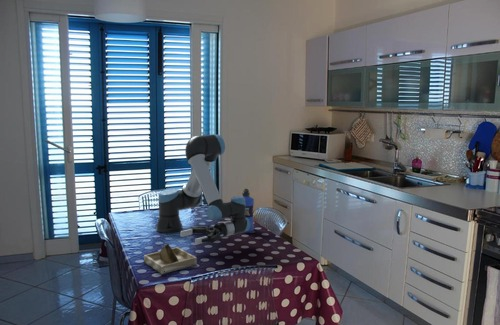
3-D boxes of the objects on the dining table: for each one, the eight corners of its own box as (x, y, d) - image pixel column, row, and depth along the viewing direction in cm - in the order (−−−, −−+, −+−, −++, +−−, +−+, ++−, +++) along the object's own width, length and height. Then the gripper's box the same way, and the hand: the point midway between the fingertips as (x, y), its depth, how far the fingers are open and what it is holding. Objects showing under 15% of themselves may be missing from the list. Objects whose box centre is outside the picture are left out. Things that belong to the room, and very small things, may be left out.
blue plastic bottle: (252, 233, 244) (252, 191, 240) (236, 232, 246) (236, 190, 242) (255, 228, 253) (255, 187, 249) (239, 227, 255) (239, 187, 251)
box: (144, 262, 200) (143, 255, 200) (177, 253, 211) (177, 246, 211) (161, 274, 186) (161, 266, 186) (196, 264, 198) (196, 257, 197)
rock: (153, 254, 202) (155, 259, 192) (164, 239, 203) (166, 243, 194) (172, 265, 204) (175, 271, 195) (182, 250, 206) (185, 255, 196)
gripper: (238, 243, 207) (201, 253, 194) (210, 230, 227) (175, 238, 213) (238, 228, 206) (201, 237, 193) (210, 216, 225) (174, 223, 212)
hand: (187, 237), depth 203 cm, fingers open, 13 cm apart
